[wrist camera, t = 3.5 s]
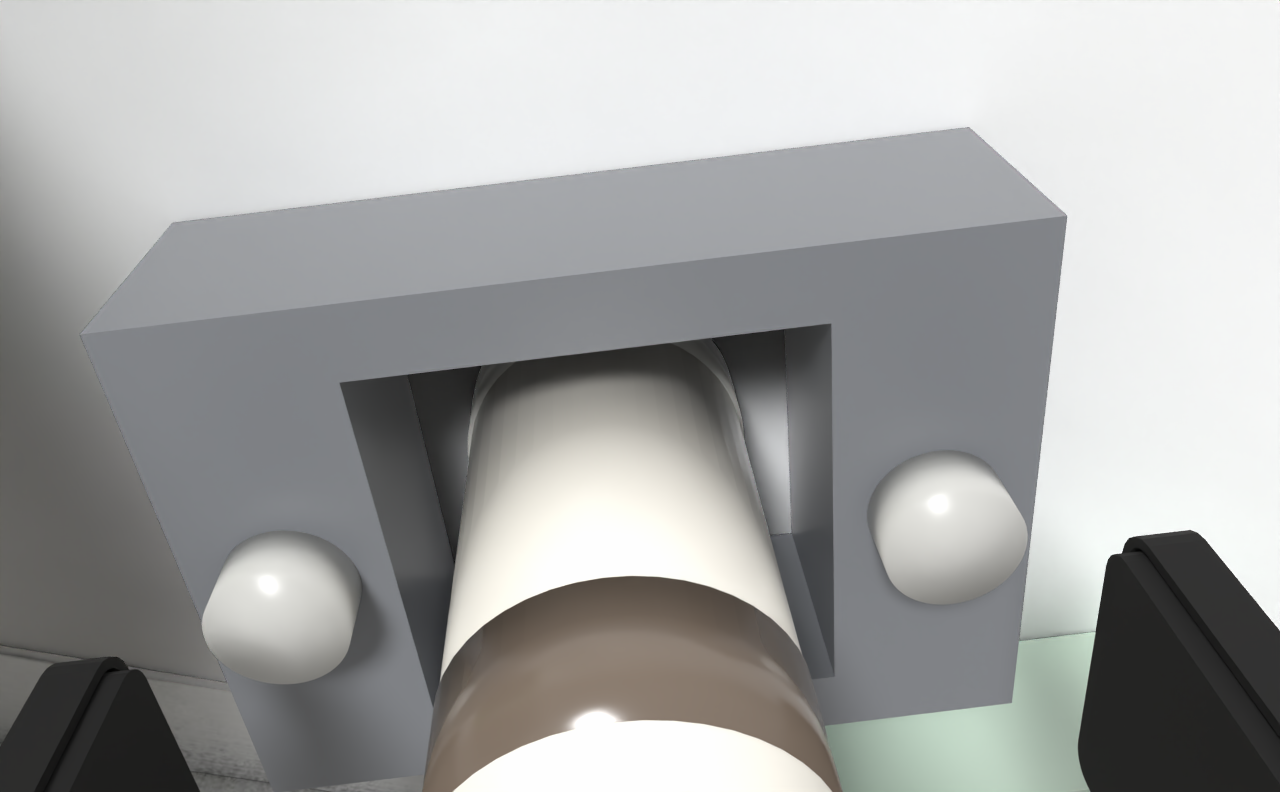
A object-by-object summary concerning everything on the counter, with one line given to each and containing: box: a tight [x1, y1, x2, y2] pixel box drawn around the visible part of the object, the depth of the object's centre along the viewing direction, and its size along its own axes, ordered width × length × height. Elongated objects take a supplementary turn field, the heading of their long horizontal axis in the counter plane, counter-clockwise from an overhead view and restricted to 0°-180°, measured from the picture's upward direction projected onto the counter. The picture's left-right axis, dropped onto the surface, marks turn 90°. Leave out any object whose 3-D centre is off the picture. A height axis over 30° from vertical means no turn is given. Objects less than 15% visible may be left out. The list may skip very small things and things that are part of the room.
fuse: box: [422, 338, 843, 792], centre depth 11 cm, size 4×4×9 cm
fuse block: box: [80, 127, 1067, 792], centre depth 13 cm, size 7×10×4 cm
